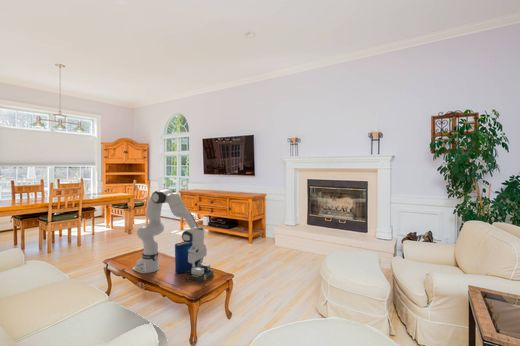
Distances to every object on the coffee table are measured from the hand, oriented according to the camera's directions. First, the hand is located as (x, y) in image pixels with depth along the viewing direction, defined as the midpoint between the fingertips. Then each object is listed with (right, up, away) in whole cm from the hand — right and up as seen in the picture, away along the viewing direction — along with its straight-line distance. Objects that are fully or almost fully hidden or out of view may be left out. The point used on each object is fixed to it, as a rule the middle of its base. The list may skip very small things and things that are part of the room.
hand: (197, 265), depth 206 cm
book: (-12, -11, +17) cm, 24 cm away
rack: (+2, -12, +4) cm, 12 cm away
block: (0, -12, 0) cm, 12 cm away
